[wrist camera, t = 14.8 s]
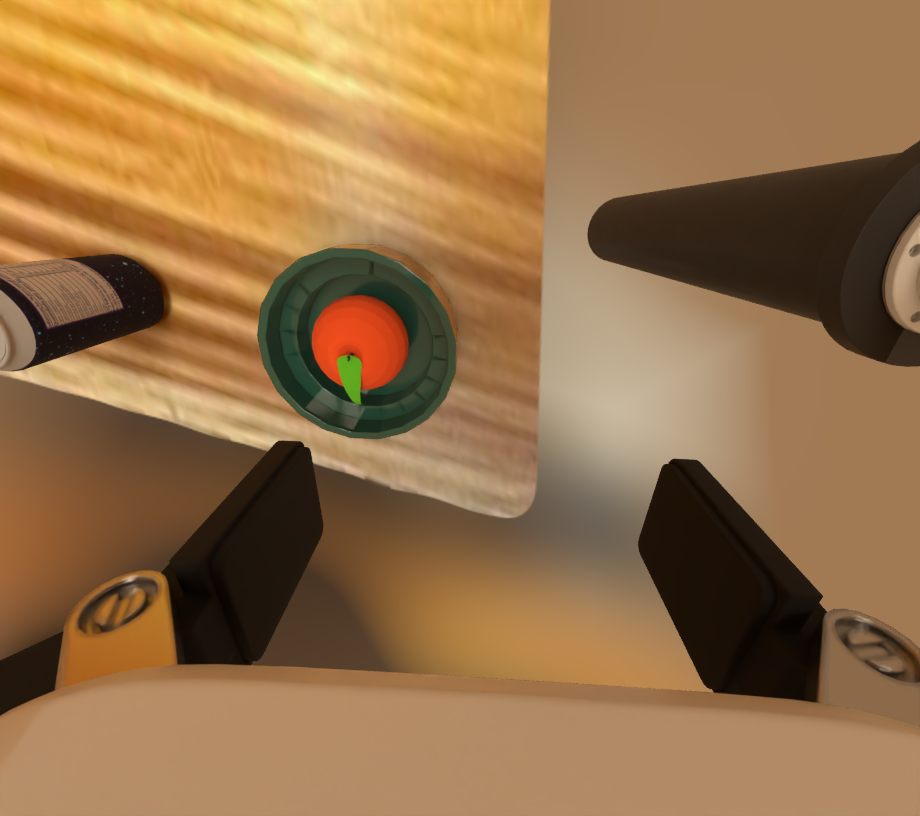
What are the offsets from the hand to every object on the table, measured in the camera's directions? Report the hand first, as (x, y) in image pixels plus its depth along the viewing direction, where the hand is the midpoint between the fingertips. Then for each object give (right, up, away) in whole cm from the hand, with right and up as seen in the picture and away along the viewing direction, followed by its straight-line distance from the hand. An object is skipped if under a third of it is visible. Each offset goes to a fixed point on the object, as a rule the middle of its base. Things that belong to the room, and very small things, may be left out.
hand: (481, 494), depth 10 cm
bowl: (-8, +8, +22) cm, 25 cm away
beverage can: (-27, +12, +21) cm, 36 cm away
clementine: (-8, +8, +21) cm, 24 cm away
